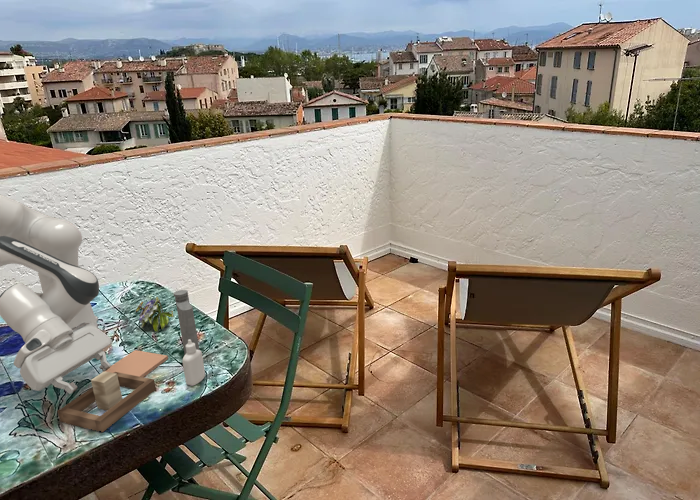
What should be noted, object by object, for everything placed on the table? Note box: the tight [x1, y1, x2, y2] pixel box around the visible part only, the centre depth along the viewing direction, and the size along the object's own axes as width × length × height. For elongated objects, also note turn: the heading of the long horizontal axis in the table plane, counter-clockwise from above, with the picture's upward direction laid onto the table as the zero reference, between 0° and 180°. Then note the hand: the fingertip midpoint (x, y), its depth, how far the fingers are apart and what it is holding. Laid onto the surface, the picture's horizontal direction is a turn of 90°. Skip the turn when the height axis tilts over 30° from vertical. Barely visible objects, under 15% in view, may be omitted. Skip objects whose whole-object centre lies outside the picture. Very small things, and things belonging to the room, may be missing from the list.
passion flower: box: [135, 296, 175, 333], centre depth 153 cm, size 11×11×12 cm
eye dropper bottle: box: [182, 339, 206, 386], centre depth 120 cm, size 4×6×12 cm
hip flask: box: [173, 289, 200, 355], centre depth 132 cm, size 16×4×20 cm, turn 25°
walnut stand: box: [56, 372, 157, 433], centre depth 112 cm, size 13×17×3 cm
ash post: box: [90, 371, 123, 412], centre depth 111 cm, size 4×4×8 cm
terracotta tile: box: [106, 349, 169, 378], centre depth 129 cm, size 12×12×1 cm
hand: (91, 379), depth 109 cm, fingers open, 8 cm apart
